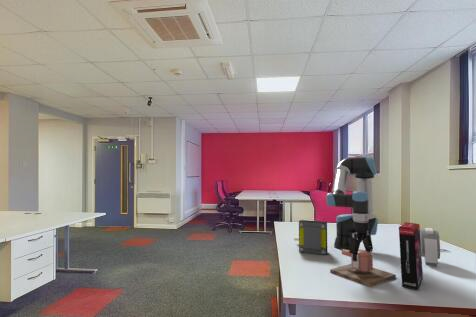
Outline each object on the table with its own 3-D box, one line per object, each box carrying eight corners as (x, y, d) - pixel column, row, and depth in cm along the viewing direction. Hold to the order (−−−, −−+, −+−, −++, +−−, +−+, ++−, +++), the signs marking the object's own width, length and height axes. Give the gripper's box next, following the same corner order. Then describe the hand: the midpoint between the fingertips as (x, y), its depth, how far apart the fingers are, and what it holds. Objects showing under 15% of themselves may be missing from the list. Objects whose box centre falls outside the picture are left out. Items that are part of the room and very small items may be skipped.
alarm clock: (441, 269, 146) (439, 231, 147) (422, 266, 150) (421, 229, 152) (437, 260, 161) (436, 226, 162) (420, 258, 165) (419, 225, 167)
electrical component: (298, 252, 176) (298, 221, 177) (300, 248, 185) (300, 219, 187) (326, 255, 169) (325, 223, 171) (327, 251, 178) (327, 221, 180)
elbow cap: (376, 268, 135) (375, 252, 135) (365, 272, 130) (364, 255, 130) (348, 260, 148) (348, 246, 148) (338, 263, 143) (337, 248, 143)
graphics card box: (418, 291, 117) (416, 228, 119) (400, 287, 121) (398, 226, 123) (423, 280, 130) (420, 223, 132) (406, 276, 134) (404, 221, 136)
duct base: (330, 272, 139) (329, 253, 140) (355, 265, 151) (355, 248, 152) (370, 287, 121) (369, 265, 121) (395, 277, 133) (395, 258, 133)
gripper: (354, 224, 129) (355, 271, 127) (379, 220, 141) (381, 264, 139) (341, 222, 135) (341, 267, 133) (366, 218, 147) (367, 260, 145)
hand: (361, 265), depth 136 cm, fingers closed on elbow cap, 9 cm apart
